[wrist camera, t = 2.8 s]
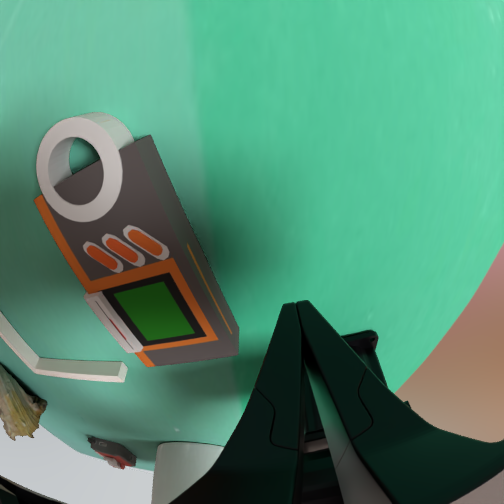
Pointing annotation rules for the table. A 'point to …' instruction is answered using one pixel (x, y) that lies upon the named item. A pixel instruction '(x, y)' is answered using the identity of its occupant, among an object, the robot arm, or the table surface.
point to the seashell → (18, 407)
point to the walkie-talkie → (113, 453)
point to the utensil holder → (180, 468)
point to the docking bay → (61, 361)
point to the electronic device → (132, 244)
